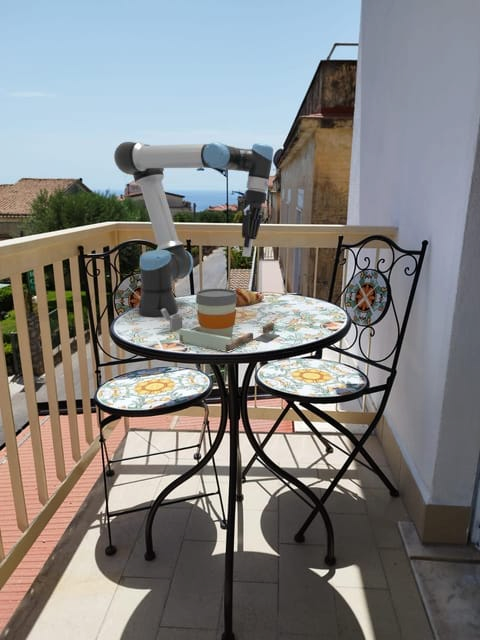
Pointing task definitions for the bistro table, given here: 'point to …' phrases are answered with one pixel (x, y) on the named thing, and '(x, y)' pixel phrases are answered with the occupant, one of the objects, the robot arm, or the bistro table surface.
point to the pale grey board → (205, 339)
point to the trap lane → (246, 337)
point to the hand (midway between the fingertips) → (246, 256)
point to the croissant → (247, 297)
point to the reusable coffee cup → (217, 311)
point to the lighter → (173, 320)
